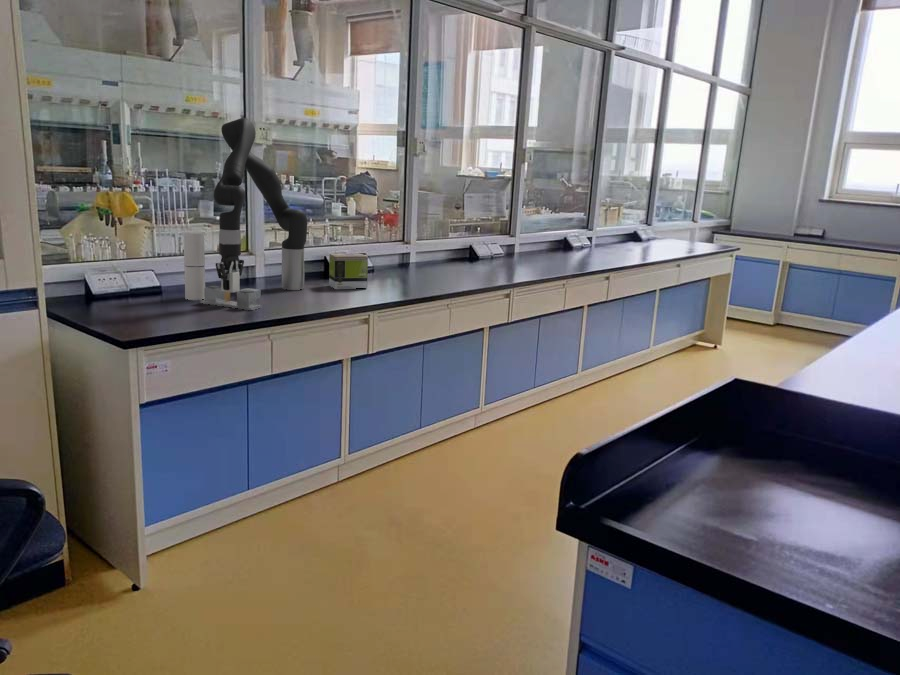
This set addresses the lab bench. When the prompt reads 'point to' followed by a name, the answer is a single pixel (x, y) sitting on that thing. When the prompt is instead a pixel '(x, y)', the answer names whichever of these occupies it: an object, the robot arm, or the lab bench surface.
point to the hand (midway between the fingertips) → (230, 288)
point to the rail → (217, 297)
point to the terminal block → (227, 295)
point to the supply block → (253, 290)
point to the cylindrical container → (194, 265)
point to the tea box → (348, 271)
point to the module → (232, 282)
